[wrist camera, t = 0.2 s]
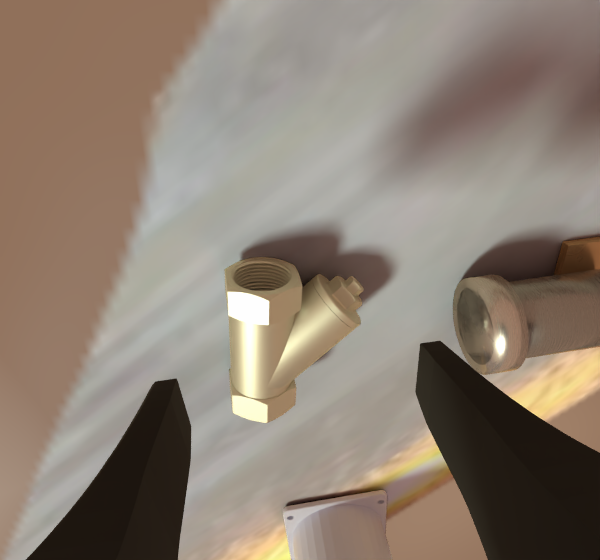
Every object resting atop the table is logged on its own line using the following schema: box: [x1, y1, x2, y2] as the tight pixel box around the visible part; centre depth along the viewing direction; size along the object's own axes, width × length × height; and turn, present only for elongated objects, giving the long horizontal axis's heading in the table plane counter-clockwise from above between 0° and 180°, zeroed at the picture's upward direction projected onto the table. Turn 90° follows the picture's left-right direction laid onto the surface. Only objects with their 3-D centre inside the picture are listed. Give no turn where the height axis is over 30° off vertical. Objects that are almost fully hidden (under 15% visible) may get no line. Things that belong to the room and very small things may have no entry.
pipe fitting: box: [225, 257, 364, 423], centre depth 23 cm, size 8×4×7 cm
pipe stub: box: [453, 236, 600, 375], centre depth 23 cm, size 8×6×5 cm
